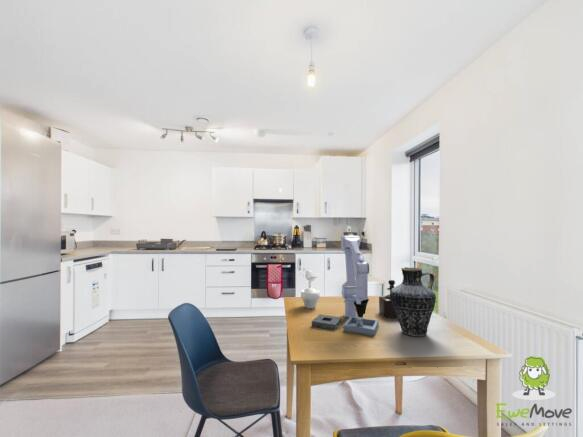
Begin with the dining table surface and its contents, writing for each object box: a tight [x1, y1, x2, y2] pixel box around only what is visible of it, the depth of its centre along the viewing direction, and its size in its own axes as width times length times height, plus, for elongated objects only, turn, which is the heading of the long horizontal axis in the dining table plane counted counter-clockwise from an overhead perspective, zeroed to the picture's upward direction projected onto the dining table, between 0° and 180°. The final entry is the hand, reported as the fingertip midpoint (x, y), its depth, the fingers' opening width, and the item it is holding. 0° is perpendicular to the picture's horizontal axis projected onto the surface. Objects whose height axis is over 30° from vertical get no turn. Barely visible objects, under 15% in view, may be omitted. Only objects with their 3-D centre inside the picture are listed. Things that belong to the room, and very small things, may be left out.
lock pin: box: [355, 308, 364, 327], centre depth 141 cm, size 4×4×9 cm
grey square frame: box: [311, 313, 343, 331], centre depth 147 cm, size 12×12×2 cm
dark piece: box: [378, 279, 398, 319], centre depth 164 cm, size 16×11×18 cm
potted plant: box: [299, 268, 321, 309], centre depth 176 cm, size 13×12×25 cm
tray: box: [343, 316, 380, 337], centre depth 141 cm, size 14×14×3 cm
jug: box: [389, 266, 437, 337], centre depth 136 cm, size 21×19×30 cm
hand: (361, 315), depth 141 cm, fingers open, 5 cm apart
